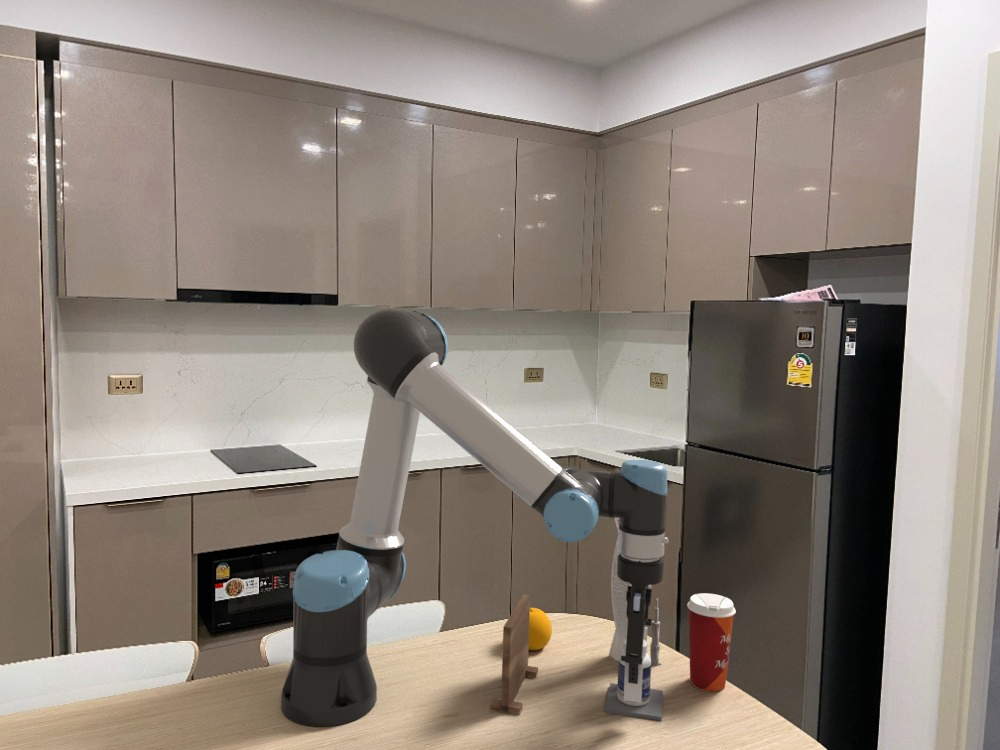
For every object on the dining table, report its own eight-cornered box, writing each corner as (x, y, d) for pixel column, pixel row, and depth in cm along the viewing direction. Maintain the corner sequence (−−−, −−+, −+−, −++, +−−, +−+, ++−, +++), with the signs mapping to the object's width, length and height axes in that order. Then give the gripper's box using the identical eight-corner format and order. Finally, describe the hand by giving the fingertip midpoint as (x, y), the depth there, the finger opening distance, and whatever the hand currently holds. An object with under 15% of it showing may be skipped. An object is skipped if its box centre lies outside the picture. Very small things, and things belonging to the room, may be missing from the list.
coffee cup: (734, 697, 125) (738, 611, 124) (684, 691, 126) (688, 606, 125) (729, 675, 133) (733, 594, 132) (682, 669, 134) (686, 589, 134)
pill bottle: (625, 709, 119) (627, 650, 118) (611, 692, 124) (613, 636, 123) (655, 705, 120) (657, 647, 119) (640, 689, 125) (642, 633, 125)
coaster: (604, 711, 119) (604, 708, 119) (610, 686, 127) (610, 682, 127) (661, 720, 116) (661, 717, 116) (663, 693, 125) (663, 690, 125)
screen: (489, 709, 118) (491, 625, 117) (511, 668, 133) (513, 593, 132) (519, 714, 117) (522, 629, 116) (538, 672, 131) (540, 596, 131)
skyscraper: (624, 675, 132) (631, 522, 131) (598, 656, 139) (604, 512, 138) (661, 666, 136) (667, 518, 134) (634, 648, 143) (639, 508, 142)
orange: (547, 657, 138) (548, 619, 137) (506, 652, 140) (507, 614, 139) (554, 640, 145) (555, 603, 145) (515, 635, 147) (516, 599, 147)
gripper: (661, 582, 107) (655, 722, 109) (666, 537, 131) (661, 652, 133) (610, 576, 109) (604, 714, 110) (624, 533, 133) (619, 646, 135)
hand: (635, 680), depth 122 cm, fingers open, 13 cm apart
